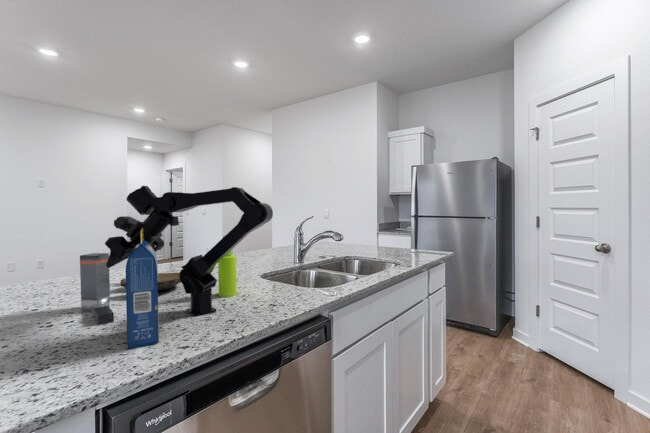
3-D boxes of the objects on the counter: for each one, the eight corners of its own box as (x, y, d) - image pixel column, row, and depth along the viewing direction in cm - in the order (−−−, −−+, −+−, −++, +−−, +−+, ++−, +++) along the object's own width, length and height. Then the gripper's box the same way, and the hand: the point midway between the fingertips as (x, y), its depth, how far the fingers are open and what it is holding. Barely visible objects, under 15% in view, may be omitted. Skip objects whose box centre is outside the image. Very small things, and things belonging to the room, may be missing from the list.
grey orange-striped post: (110, 295, 101) (109, 253, 101) (96, 300, 96) (95, 255, 96) (94, 295, 102) (93, 253, 101) (80, 300, 97) (79, 255, 96)
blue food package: (159, 325, 84) (157, 227, 83) (159, 343, 74) (157, 230, 73) (130, 330, 81) (128, 228, 80) (126, 349, 71) (123, 232, 70)
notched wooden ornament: (116, 303, 104) (116, 279, 104) (123, 283, 130) (122, 263, 130) (193, 294, 114) (192, 272, 114) (184, 277, 141) (184, 259, 141)
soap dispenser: (240, 291, 117) (239, 235, 116) (232, 297, 110) (232, 237, 109) (224, 291, 118) (223, 235, 117) (215, 296, 111) (214, 236, 110)
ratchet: (121, 320, 88) (121, 299, 88) (89, 326, 84) (89, 305, 83) (107, 302, 104) (107, 285, 104) (79, 307, 99) (79, 289, 99)
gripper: (154, 206, 106) (123, 241, 107) (110, 207, 87) (73, 248, 89) (178, 231, 105) (146, 265, 107) (139, 236, 87) (101, 278, 88)
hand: (119, 263), depth 98 cm, fingers open, 9 cm apart
